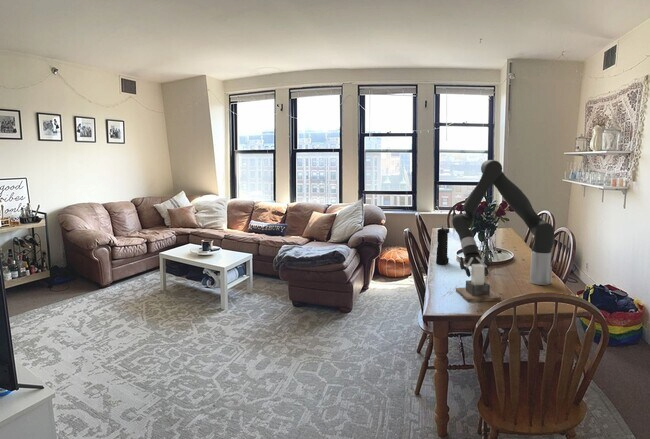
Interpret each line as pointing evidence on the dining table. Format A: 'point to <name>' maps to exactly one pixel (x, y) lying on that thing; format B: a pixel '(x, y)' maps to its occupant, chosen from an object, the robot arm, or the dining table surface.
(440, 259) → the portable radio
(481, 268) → the plug block
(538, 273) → the robot arm
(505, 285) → the dining table surface
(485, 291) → the square socket base
